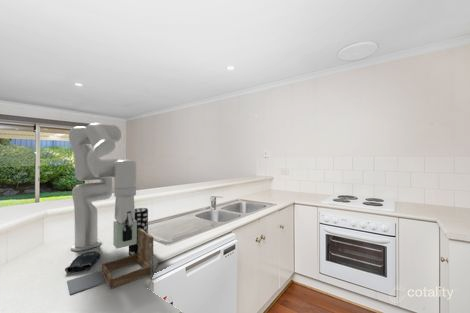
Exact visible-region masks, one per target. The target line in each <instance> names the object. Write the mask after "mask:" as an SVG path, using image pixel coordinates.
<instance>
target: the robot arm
mask: <svg viewBox="0 0 470 313" xmlns="http://www.w3.org/2000/svg"><path fill="white" fill-rule="evenodd" d="M121 139H122V131H121V128H120V127H119V126H117V125H115V124H109V123H108V124H107V123H100V122H99V123H98V122H94V123H89V124H87V125H86V126H74V127H72V128H70V130H69V132H68V141H69V144H70V147H71V149H72V151H73V156H74V159H73V160H74V176H75V178H76V180H78V181H81V182H84V181H85V182H86V181H100V182H88V183H87V182H86V183H81V184H76V185H75V186H73V188H72V189H71V197H72V202H73V207H74V208H73V209H74V210H73V212H74V243H73V244H71V246H70V249H71V250H72V251H74V252H81V251H82V252H83V251H87V250H91V249H94V248H96V247H99V246H100V245H101V244H102V240H101V239H100V238H98V233H99V232H98V208H97V207H96V205H94V204H93V202H97V201H104V200H108V199H110V198H111V197H112V195H113V197H115V205H114V219H115V221H118V222H119V223H120V224H123V229H124V231H123V242H125V241H129V240H132V225H133V221H134V218H135V209H136V207H135V196H136V195H137V162H136V161H135V160H134V159H127V158H103V157H105V156H107V155H110V154H111V153H112V152H114V150H115V148H116V143H117V142H119V141H120V140H121ZM89 145H90V146H92V147H90V146H89ZM113 178H114V183H113ZM113 184H114V188H113ZM113 189H114V191H113ZM113 192H114V193H113ZM127 220H128V222H125V221H127ZM126 224H128V225H126Z"/></svg>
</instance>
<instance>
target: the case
mask: <svg viewBox="0 0 470 313" xmlns="http://www.w3.org/2000/svg"><path fill="white" fill-rule="evenodd" d="M134 263H137V264H138V265H139V266H140V267H141V268H139V269H135V270H133V271H130V272H127V273H124V274H121V275H119V276H116V277H113V276H112V274H111V272H110V271H111V270H115V269H118V268H121V267H125V266H127V265H131V264H134ZM154 269H155V268H154V236H152V235H151V234H150V233H149V232H148V233H147V232H146V231H144V230H143V229H141V228H138V254H134V255H131V256H129V255H128V256H125V257H121V258H118V259H115V260H111V261H107V262H105V263H102V264H101V274H103V275H102V276H103V278H105V279H104V280H105V282H107V284H108V286H109V288H110V289H111V290H112V289H115V288H118V287H121V286H123V285H126V284H128V283H131V282H135V281H136V280H139V279H142V278H144V277H148V276H150V277H151V276H153V274H154V271H155V270H154Z"/></svg>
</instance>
